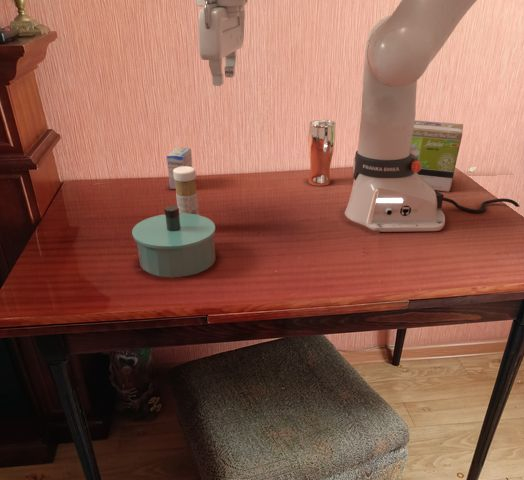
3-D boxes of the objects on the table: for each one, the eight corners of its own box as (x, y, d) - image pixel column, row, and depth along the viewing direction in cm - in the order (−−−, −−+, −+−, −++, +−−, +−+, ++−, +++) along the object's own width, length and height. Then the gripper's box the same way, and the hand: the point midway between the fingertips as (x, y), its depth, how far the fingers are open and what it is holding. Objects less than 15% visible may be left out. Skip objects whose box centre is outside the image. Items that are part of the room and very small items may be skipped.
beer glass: (334, 179, 142) (339, 120, 134) (328, 187, 137) (333, 127, 128) (310, 176, 144) (312, 118, 135) (303, 184, 139) (305, 125, 130)
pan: (223, 248, 107) (221, 219, 104) (204, 282, 96) (201, 250, 92) (155, 243, 110) (151, 214, 106) (129, 276, 98) (123, 245, 94)
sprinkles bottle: (192, 225, 118) (187, 164, 110) (204, 231, 115) (199, 169, 107) (175, 230, 115) (168, 168, 107) (186, 236, 112) (180, 173, 104)
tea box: (390, 187, 137) (399, 127, 128) (395, 175, 145) (403, 118, 136) (450, 192, 133) (463, 131, 125) (451, 180, 141) (463, 122, 132)
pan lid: (224, 221, 104) (222, 195, 101) (203, 255, 92) (200, 227, 89) (150, 216, 107) (146, 191, 104) (119, 249, 94) (114, 221, 91)
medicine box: (177, 179, 143) (174, 147, 138) (193, 180, 143) (190, 147, 137) (169, 189, 137) (165, 155, 132) (186, 190, 136) (183, 156, 131)
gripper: (223, -4, 84) (227, 91, 92) (249, -8, 100) (250, 73, 108) (186, -4, 85) (193, 90, 93) (217, -8, 101) (221, 72, 109)
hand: (224, 80), depth 101 cm, fingers open, 8 cm apart
